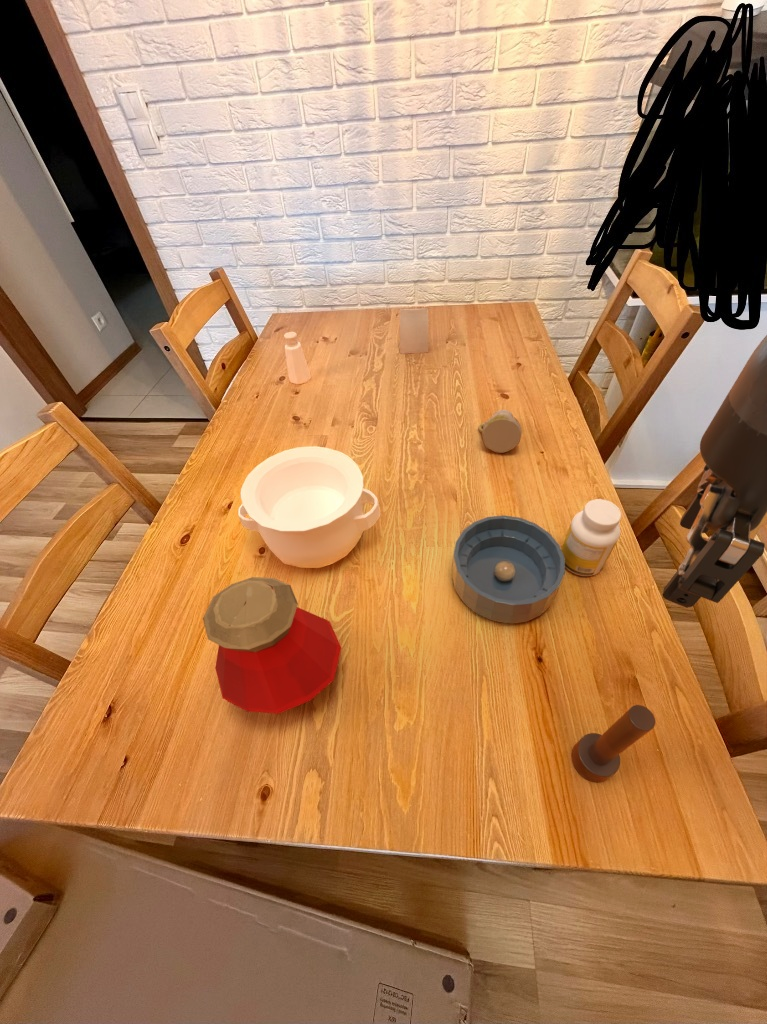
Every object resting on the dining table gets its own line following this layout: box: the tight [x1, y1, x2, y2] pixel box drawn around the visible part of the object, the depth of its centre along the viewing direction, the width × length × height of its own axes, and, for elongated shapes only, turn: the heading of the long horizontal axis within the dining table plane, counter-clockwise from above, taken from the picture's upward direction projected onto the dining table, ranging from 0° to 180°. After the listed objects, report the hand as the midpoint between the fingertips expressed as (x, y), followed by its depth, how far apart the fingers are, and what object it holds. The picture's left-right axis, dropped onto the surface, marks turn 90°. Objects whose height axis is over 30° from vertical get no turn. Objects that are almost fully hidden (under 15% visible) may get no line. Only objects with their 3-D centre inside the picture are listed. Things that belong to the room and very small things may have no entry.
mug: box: [477, 409, 523, 454], centre depth 88 cm, size 8×10×10 cm
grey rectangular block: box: [398, 307, 430, 355], centre depth 110 cm, size 4×7×10 cm, turn 89°
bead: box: [495, 561, 516, 581], centre depth 68 cm, size 3×3×3 cm
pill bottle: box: [560, 498, 622, 577], centre depth 66 cm, size 6×6×12 cm
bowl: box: [451, 514, 566, 624], centre depth 67 cm, size 15×15×6 cm
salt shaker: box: [283, 331, 312, 385], centre depth 104 cm, size 5×5×11 cm
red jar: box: [202, 576, 342, 715], centre depth 54 cm, size 16×14×20 cm
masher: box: [571, 704, 656, 783], centre depth 47 cm, size 4×4×16 cm
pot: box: [237, 445, 381, 569], centre depth 72 cm, size 22×17×12 cm
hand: (684, 561), depth 39 cm, fingers open, 8 cm apart
